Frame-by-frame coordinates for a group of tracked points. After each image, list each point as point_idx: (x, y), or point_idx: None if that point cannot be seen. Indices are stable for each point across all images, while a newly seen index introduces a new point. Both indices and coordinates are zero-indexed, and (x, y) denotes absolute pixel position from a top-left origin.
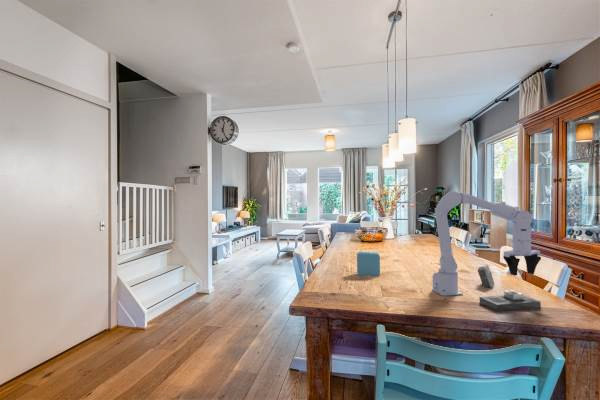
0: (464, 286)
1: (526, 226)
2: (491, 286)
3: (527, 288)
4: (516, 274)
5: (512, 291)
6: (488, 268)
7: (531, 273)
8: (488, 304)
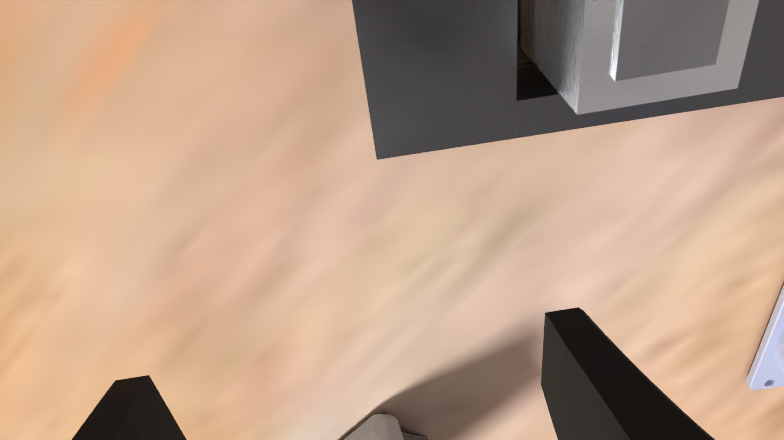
0: None
1: None
2: (390, 422)
3: (50, 420)
4: (567, 319)
5: (661, 45)
6: None
7: (152, 399)
8: None
